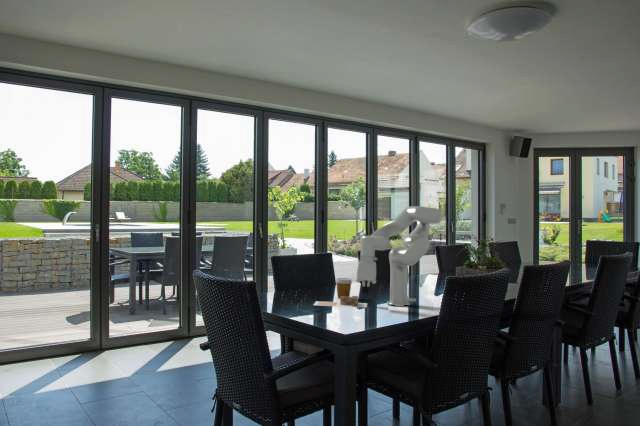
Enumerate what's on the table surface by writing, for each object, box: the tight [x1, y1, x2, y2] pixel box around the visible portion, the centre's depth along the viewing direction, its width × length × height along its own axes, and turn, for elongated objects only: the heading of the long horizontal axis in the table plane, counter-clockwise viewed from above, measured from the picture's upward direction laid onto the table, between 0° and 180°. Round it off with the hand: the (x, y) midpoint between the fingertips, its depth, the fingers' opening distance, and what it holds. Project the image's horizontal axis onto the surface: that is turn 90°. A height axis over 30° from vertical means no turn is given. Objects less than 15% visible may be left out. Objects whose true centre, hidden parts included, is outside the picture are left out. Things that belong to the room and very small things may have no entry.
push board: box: [313, 300, 368, 308], centre depth 260 cm, size 28×12×1 cm, turn 83°
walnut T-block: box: [339, 295, 359, 308], centre depth 259 cm, size 9×9×4 cm
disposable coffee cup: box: [335, 277, 353, 300], centre depth 279 cm, size 10×10×12 cm
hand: (365, 293), depth 257 cm, fingers closed
